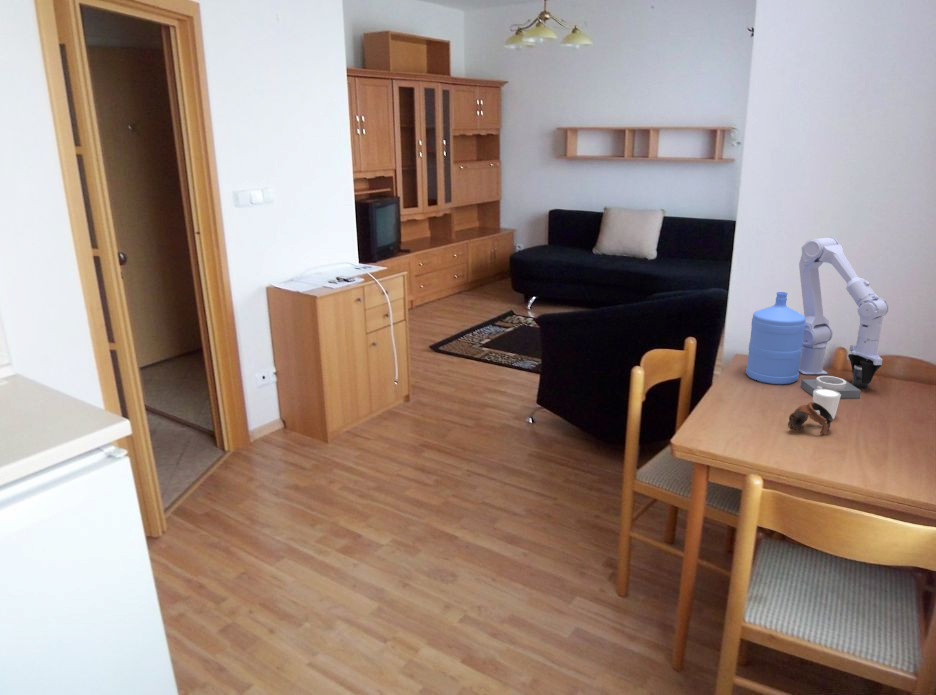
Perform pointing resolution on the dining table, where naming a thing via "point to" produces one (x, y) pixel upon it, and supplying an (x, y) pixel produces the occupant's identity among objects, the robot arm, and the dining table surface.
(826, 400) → the white cup
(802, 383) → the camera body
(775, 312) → the water jug
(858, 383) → the lens
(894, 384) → the dining table surface
